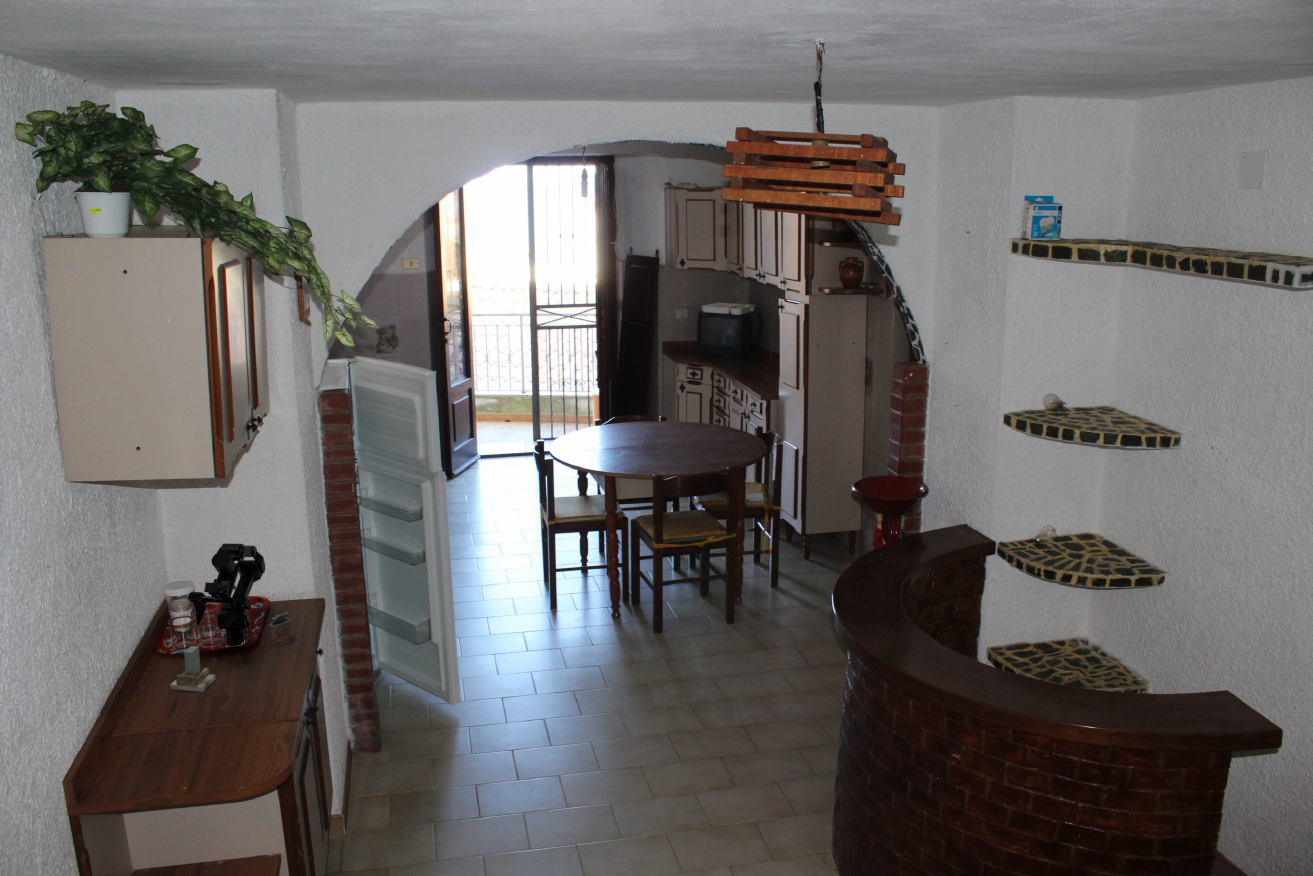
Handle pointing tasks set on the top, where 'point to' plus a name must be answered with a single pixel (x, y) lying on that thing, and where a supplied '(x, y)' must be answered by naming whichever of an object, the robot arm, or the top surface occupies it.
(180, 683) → the groove base
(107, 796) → the top surface
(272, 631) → the lighter
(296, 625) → the top surface
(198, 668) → the plank
